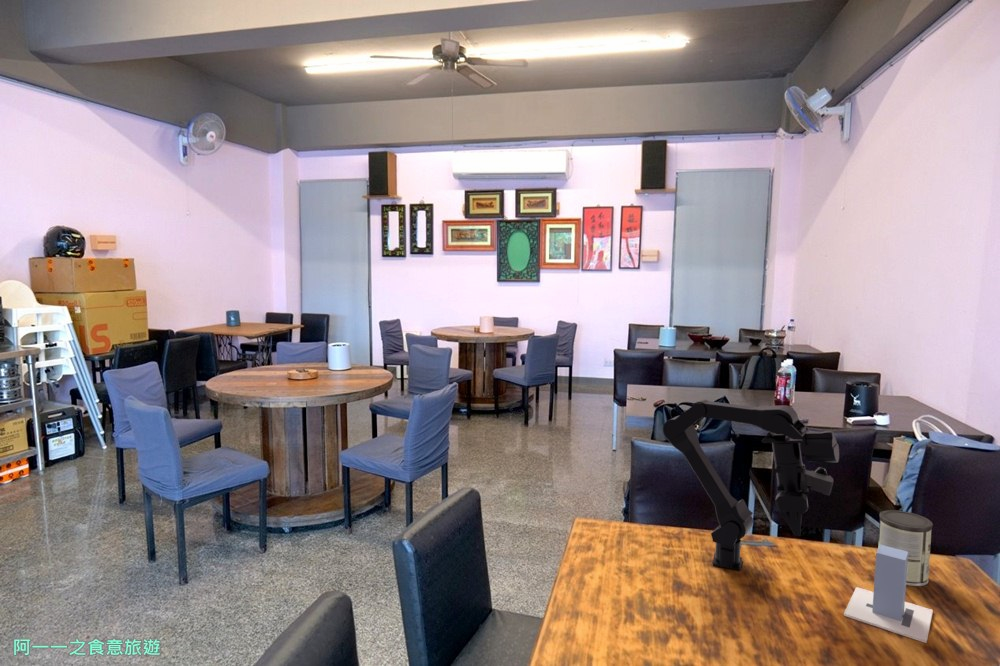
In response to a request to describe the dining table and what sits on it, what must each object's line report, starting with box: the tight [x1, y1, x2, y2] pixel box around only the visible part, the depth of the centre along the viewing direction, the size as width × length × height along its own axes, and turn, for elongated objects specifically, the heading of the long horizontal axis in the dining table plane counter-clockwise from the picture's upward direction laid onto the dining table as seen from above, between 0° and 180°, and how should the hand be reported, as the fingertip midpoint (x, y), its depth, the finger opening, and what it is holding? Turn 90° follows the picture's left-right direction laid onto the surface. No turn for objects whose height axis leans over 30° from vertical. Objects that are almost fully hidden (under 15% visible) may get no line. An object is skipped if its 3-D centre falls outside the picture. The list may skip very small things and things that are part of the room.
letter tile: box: [843, 586, 934, 644], centre depth 121 cm, size 14×14×1 cm
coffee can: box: [877, 509, 934, 587], centre depth 137 cm, size 10×10×14 cm
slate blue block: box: [872, 545, 908, 621], centre depth 121 cm, size 5×5×13 cm
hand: (798, 528), depth 132 cm, fingers open, 9 cm apart
